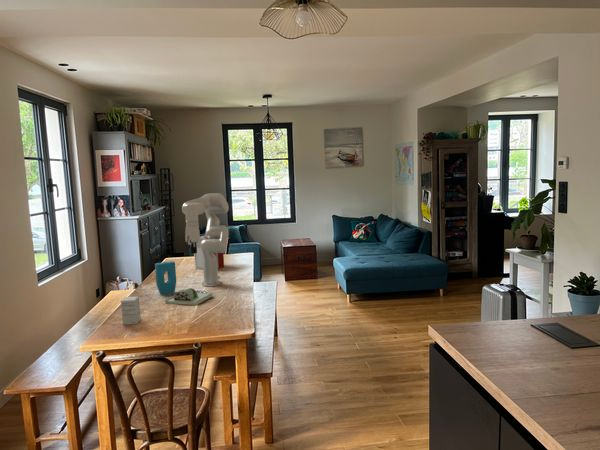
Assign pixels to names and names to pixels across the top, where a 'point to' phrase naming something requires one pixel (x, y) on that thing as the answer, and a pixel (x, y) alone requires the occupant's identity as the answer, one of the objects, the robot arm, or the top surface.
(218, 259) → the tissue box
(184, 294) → the food container
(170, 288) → the block
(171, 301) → the board
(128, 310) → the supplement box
